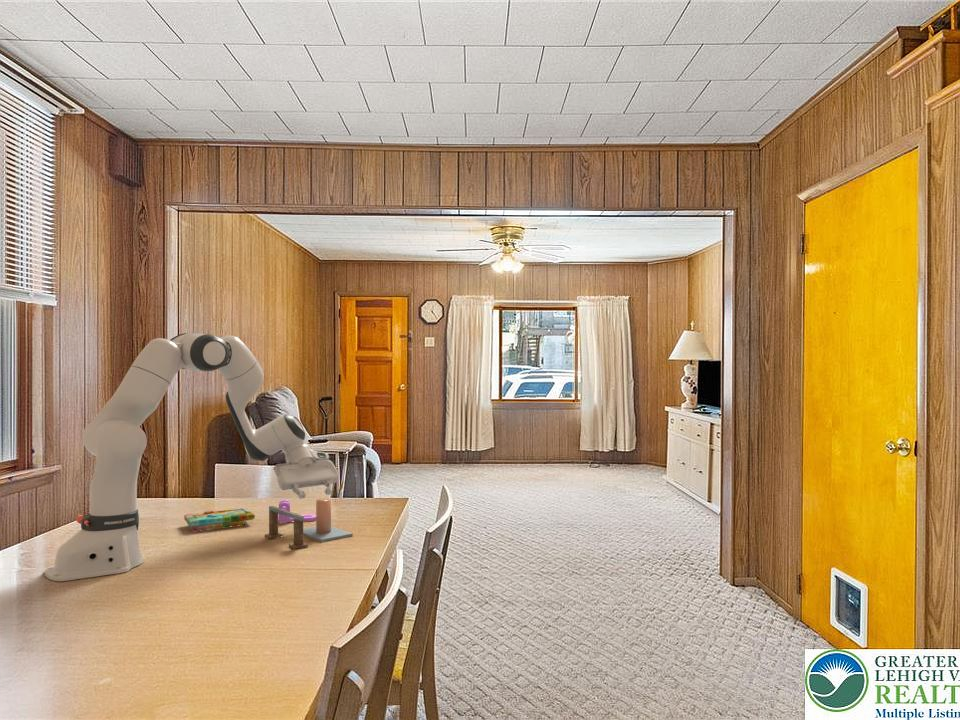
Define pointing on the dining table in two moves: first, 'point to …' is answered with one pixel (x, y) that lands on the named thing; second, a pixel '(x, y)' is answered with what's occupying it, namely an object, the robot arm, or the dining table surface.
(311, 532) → the pad
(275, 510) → the metal bar
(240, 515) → the puzzle game
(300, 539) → the hurdle posts
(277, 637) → the dining table surface
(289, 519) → the bracket
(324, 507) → the terracotta cylinder
